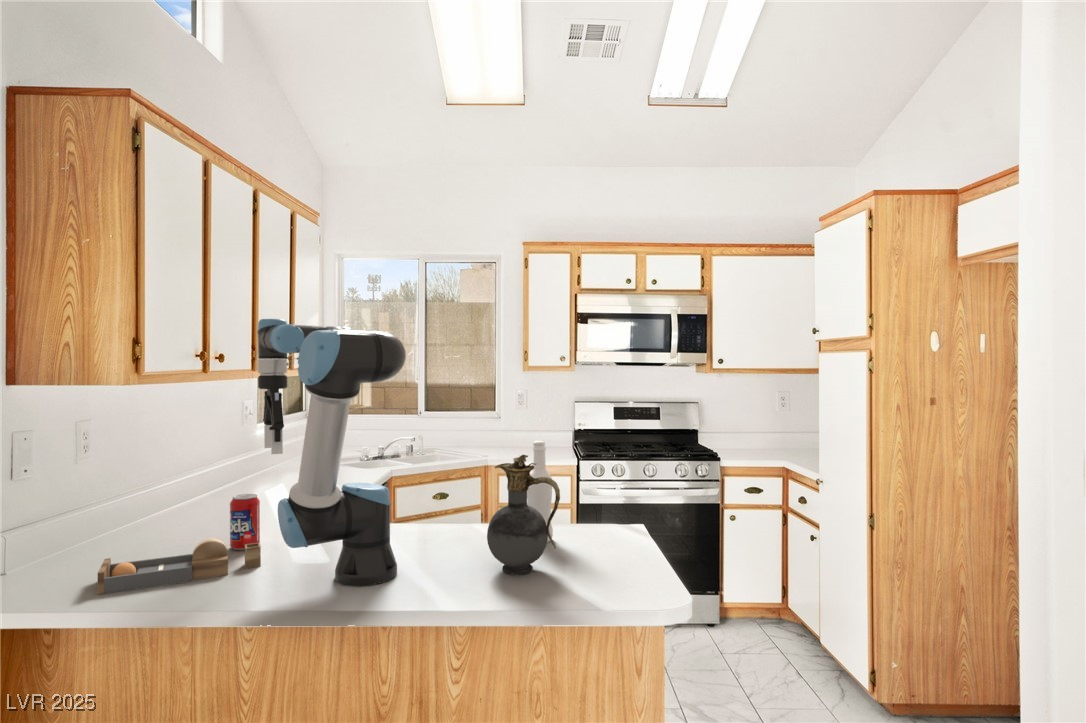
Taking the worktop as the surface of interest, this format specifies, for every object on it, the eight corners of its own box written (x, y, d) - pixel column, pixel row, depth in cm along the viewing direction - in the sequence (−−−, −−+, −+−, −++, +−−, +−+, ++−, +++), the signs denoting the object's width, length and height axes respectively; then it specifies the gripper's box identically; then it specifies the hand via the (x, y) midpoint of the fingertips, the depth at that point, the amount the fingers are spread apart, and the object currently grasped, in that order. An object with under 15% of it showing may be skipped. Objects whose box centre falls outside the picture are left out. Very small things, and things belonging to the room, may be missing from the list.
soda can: (265, 544, 186) (265, 493, 186) (246, 552, 179) (246, 499, 179) (243, 542, 188) (243, 492, 188) (223, 550, 181) (223, 498, 181)
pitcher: (495, 561, 172) (495, 450, 172) (564, 566, 167) (564, 453, 167) (482, 574, 161) (482, 457, 161) (555, 581, 157) (555, 460, 157)
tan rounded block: (227, 574, 161) (227, 543, 161) (191, 579, 157) (191, 547, 157) (226, 563, 170) (226, 533, 170) (192, 567, 166) (192, 537, 166)
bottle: (556, 542, 189) (557, 442, 189) (531, 545, 186) (531, 443, 186) (546, 535, 197) (546, 438, 196) (522, 538, 194) (522, 440, 193)
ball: (125, 561, 153) (105, 576, 151) (139, 576, 154) (119, 591, 152) (128, 555, 157) (108, 569, 155) (141, 570, 159) (122, 584, 157)
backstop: (103, 593, 148) (103, 572, 148) (97, 594, 148) (97, 573, 148) (110, 578, 158) (110, 558, 158) (104, 578, 158) (104, 558, 158)
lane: (191, 580, 157) (191, 566, 157) (103, 593, 148) (103, 578, 148) (192, 566, 167) (192, 553, 167) (110, 578, 158) (110, 564, 158)
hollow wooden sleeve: (260, 566, 167) (260, 546, 167) (245, 568, 166) (245, 548, 166) (259, 562, 171) (259, 542, 171) (244, 564, 169) (244, 544, 169)
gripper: (295, 375, 168) (295, 455, 168) (280, 373, 189) (280, 444, 189) (264, 375, 164) (264, 457, 164) (252, 373, 185) (253, 446, 185)
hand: (273, 450), depth 177 cm, fingers open, 13 cm apart
